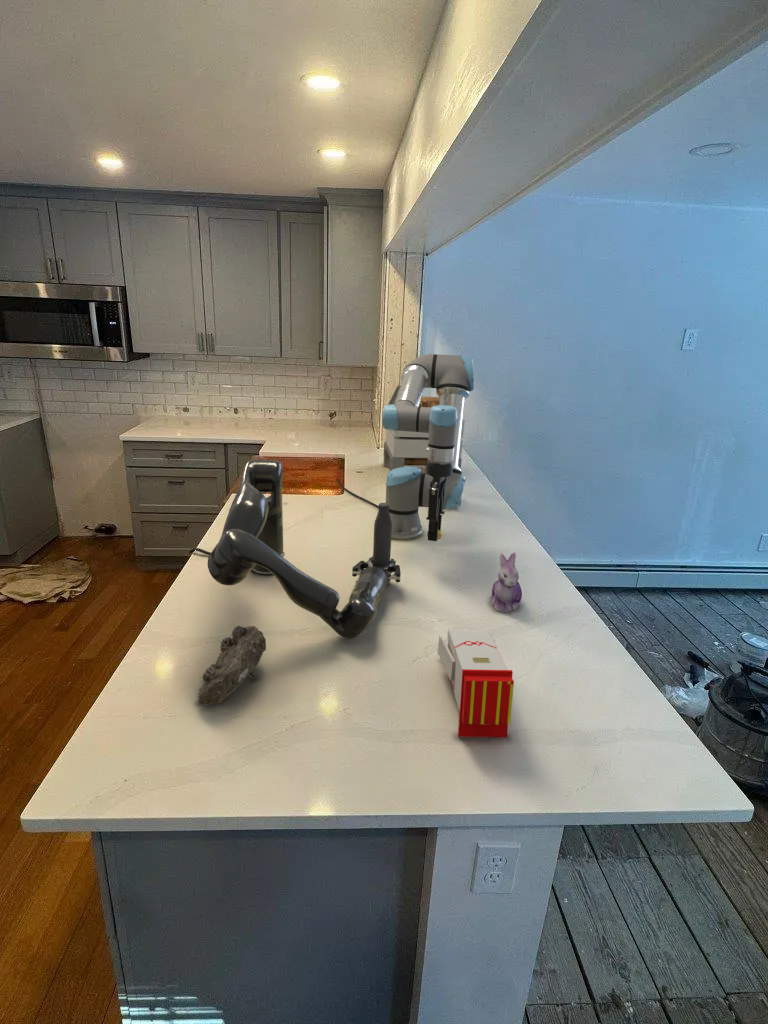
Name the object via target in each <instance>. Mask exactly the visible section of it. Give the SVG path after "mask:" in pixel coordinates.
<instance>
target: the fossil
mask: <svg viewBox="0 0 768 1024" xmlns="http://www.w3.org/2000/svg"><path fill="white" fill-rule="evenodd" d="M231 636H232V637H231ZM231 636H228V637H225V638H223V639H222V640H221V641H220V646H219V647H220V653H219V655H218V656H217V659H216V661H215V663H212V664H211V665H209V666H208V667H207V668H205V670H204V672H203V673H202V677H201V678H202V680H203V684H202V685H201V687H199V688H198V693H197V694H198V699H199V700H198V701H199V703H204V705H212V704H217V703H219V704H220V703H222V702H223V701H224V700H226V698H227V697H228V696H229V695H231V694H232V693H233V692H234V691H235V690H236V689H237V688H238V687H239V686H240V685H241V684H243V682H244V681H245V679H246V677H248V676H250V677H251V678H252V679H255V678H256V676H255V675H254V674H253V673H252V670H253V669H254V667H256V666H257V665H258V664H259V663H260V661H261V659H262V656H263V655H264V652H265V651H266V650H267V643H266V641H267V640H266V638H265V636H264V633H263V632H262V630H260V629H258V627H256V625H248V626H241V625H236V626H235V627H234V629H233V631H232V633H231Z"/></svg>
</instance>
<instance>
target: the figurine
mask: <svg viewBox="0 0 768 1024" xmlns="http://www.w3.org/2000/svg"><path fill="white" fill-rule="evenodd" d="M516 558H517V554H516V552H514V551H513V552H512V553H511V554H510V556H509V558H508V559H507V558H506V556H505V554H504V553H499V566H500V568H499V570H498V573H497V578H498V579H497V580H496V581H495V582H494V583H493V584H492V588H491V596H490V603H491V605H492V607H494V609H495V610H496V611H498V612H503V613H511V611H516V610H517V609H518V608H519V606H520V604H521V601H522V598H523V591H522V587H521V585H520V583H519V579H520V575H519V572H518V569H517V567H516Z"/></svg>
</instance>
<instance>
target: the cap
mask: <svg viewBox="0 0 768 1024" xmlns="http://www.w3.org/2000/svg"><path fill="white" fill-rule="evenodd" d="M426 533H427V534H426V537H427V538H428V531H427V532H426ZM442 534H443V533H442V530H441V531H440V530H438V535H437V541H439V540H441V539H442Z"/></svg>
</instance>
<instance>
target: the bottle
mask: <svg viewBox="0 0 768 1024" xmlns="http://www.w3.org/2000/svg"><path fill="white" fill-rule="evenodd" d="M378 507H379V508H378ZM378 507H377V508H378V511H377V514H376V517H375V520H374V523H373V524H374V525H373V547H372V556H373V566H374V567H383V566H385V565H389V563H390V560H391V553H392V539H391V535H392V521H391V518H390V513H389V504H388V503H386V502H380V503H378ZM389 584H390V581H389V582H388V583H387V585H386V587H388V586H389Z"/></svg>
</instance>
